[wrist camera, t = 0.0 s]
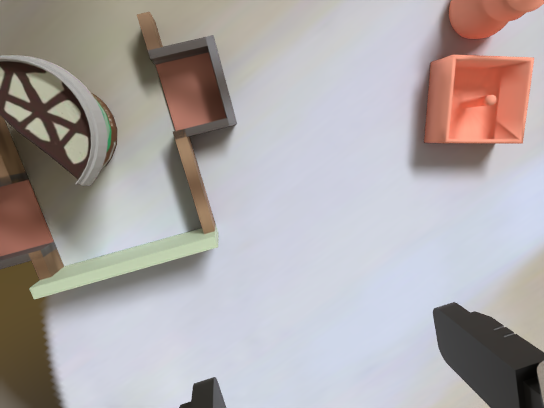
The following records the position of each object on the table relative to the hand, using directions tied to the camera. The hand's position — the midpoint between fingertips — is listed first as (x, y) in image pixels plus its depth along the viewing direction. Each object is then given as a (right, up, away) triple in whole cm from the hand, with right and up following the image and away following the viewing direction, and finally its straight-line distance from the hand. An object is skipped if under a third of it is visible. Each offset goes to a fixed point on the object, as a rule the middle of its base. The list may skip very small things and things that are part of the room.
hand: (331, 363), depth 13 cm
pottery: (+21, +22, +29) cm, 42 cm away
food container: (-21, +15, +25) cm, 36 cm away
